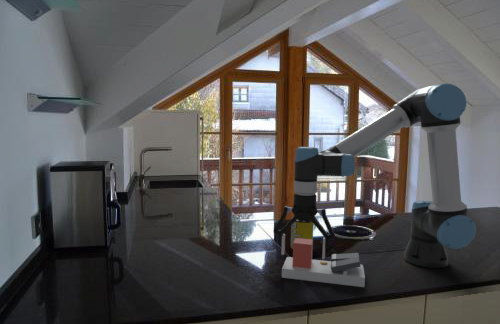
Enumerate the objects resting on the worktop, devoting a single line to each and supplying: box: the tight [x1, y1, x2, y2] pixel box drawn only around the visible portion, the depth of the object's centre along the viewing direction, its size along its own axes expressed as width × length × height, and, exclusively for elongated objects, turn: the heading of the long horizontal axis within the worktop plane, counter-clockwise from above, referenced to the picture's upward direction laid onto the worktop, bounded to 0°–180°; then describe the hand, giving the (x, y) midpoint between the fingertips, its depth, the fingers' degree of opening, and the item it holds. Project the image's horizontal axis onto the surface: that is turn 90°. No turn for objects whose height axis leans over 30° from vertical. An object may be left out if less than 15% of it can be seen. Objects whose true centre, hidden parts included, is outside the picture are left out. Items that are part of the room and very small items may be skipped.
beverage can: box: [290, 216, 314, 250], centre depth 156 cm, size 9×9×12 cm
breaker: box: [331, 256, 361, 272], centre depth 122 cm, size 9×5×2 cm, turn 76°
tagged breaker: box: [330, 252, 360, 262], centre depth 128 cm, size 9×5×2 cm, turn 76°
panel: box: [281, 256, 366, 288], centre depth 127 cm, size 26×12×8 cm, turn 77°
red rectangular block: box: [292, 238, 314, 268], centre depth 128 cm, size 6×6×8 cm
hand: (303, 255), depth 128 cm, fingers open, 13 cm apart
